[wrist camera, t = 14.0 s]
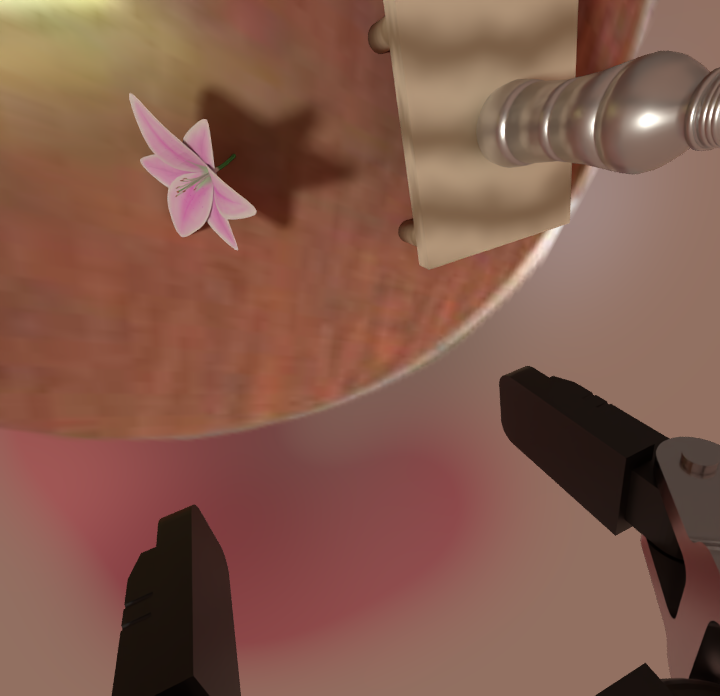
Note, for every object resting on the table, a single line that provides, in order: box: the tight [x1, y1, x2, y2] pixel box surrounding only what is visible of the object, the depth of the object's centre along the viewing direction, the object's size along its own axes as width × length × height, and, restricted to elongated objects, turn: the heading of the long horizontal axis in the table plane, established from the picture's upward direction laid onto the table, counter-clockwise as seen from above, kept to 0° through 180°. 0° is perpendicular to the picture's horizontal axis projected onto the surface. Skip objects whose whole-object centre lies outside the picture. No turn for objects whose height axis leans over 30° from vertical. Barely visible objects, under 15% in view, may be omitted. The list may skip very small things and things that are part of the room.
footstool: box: [368, 0, 578, 270], centre depth 41 cm, size 22×17×8 cm
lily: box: [129, 94, 257, 250], centre depth 35 cm, size 12×12×10 cm
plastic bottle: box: [476, 51, 720, 174], centre depth 29 cm, size 6×7×20 cm
